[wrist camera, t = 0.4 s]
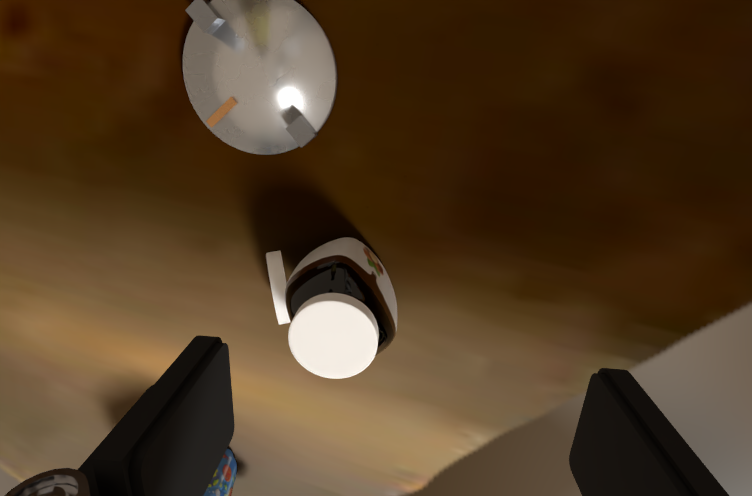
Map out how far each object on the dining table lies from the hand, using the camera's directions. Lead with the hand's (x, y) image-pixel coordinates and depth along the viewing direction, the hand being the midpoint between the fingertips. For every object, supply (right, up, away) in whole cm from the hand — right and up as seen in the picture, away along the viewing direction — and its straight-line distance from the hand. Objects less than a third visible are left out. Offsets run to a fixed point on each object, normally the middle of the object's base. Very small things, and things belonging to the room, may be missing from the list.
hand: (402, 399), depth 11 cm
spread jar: (-5, +1, +32) cm, 33 cm away
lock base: (-11, +19, +26) cm, 34 cm away
